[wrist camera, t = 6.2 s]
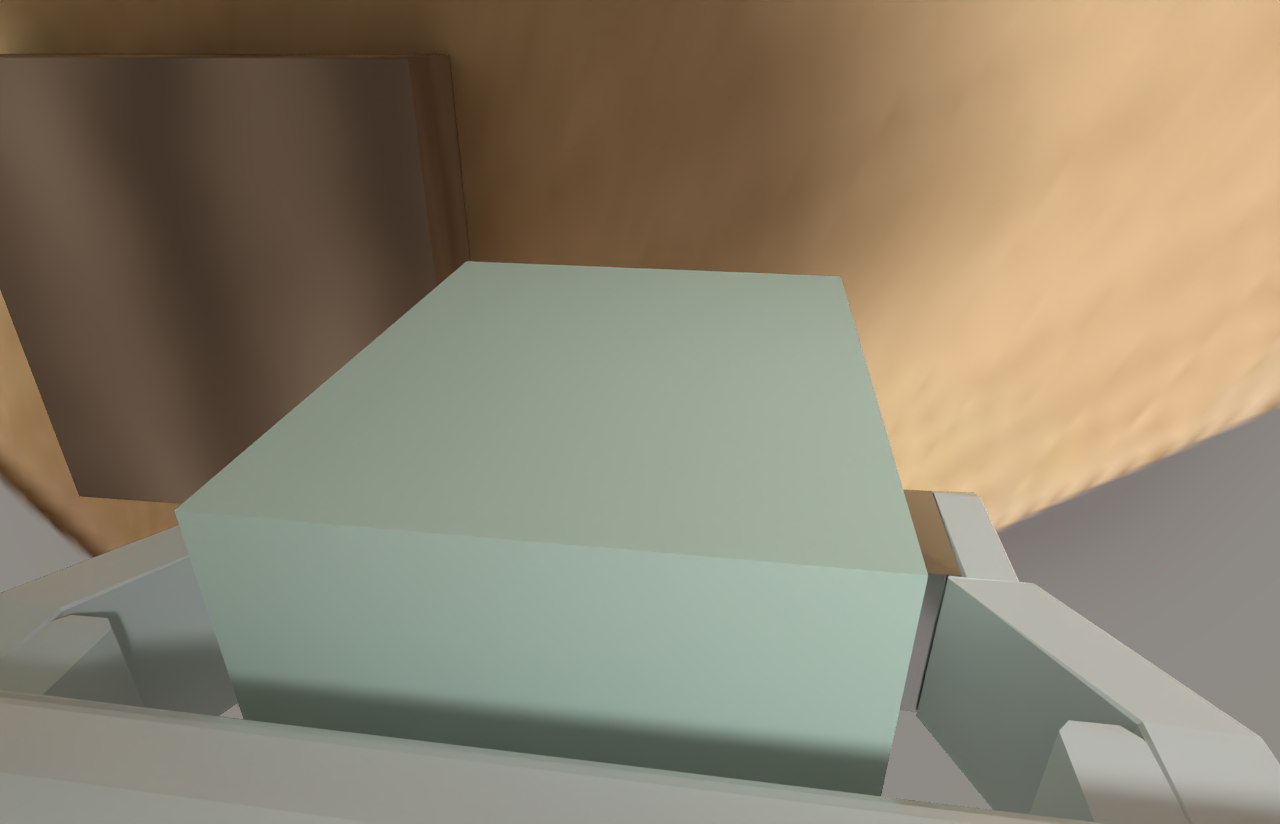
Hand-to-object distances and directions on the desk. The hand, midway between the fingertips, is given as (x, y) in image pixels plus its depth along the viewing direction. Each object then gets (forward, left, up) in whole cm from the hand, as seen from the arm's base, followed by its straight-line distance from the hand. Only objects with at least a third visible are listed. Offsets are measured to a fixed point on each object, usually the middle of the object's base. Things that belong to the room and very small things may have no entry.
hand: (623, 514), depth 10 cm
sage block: (0, 0, -2) cm, 2 cm away
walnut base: (+14, +2, -16) cm, 21 cm away
